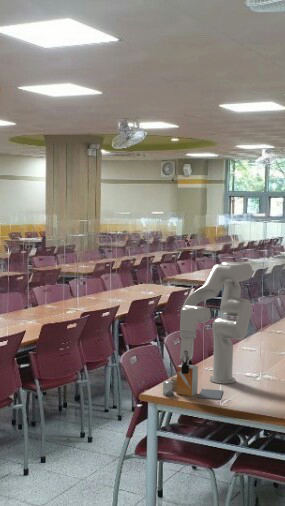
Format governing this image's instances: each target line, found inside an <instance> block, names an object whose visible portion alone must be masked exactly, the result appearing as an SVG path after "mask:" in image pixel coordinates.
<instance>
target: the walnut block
mask: <svg viewBox="0 0 285 506" xmlns="http://www.w3.org/2000/svg"><path fill="white" fill-rule="evenodd" d="M170 381H174V391H176V388H177V376H171V378H170Z"/></svg>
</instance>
